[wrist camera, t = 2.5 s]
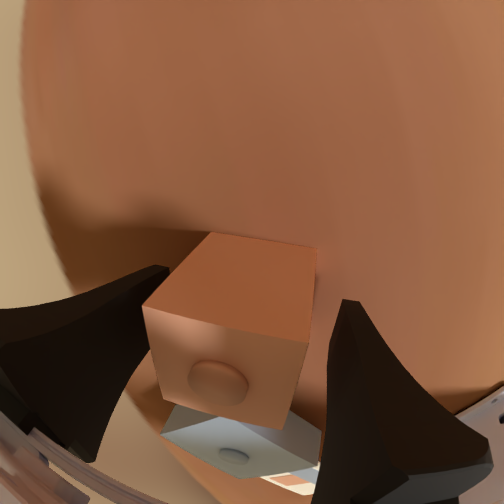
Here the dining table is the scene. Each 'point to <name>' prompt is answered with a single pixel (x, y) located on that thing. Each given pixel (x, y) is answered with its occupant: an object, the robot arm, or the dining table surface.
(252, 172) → the dining table surface
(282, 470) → the base brick
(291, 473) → the page
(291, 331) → the top brick
